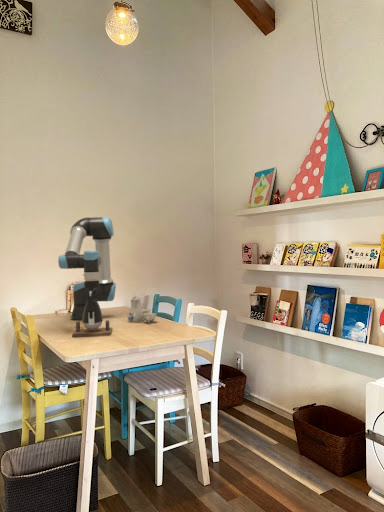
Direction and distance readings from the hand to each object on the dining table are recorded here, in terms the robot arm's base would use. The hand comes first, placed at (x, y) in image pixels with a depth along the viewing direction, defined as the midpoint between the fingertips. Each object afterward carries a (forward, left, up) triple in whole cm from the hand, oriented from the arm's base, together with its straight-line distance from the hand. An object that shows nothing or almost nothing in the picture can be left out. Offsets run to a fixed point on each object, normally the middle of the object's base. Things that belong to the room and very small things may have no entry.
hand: (92, 322), depth 209 cm
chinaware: (-33, +25, -6) cm, 42 cm away
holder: (0, 0, -6) cm, 6 cm away
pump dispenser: (0, 0, -3) cm, 3 cm away
